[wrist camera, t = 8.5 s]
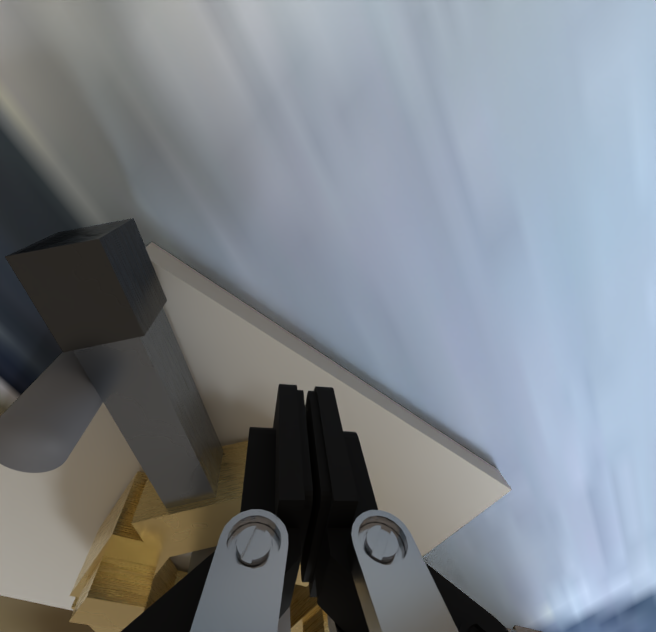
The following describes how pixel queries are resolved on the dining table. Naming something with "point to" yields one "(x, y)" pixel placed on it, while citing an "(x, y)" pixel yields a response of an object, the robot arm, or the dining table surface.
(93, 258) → the tan ring with handle
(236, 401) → the hub plate
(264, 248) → the dining table surface
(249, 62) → the dining table surface
